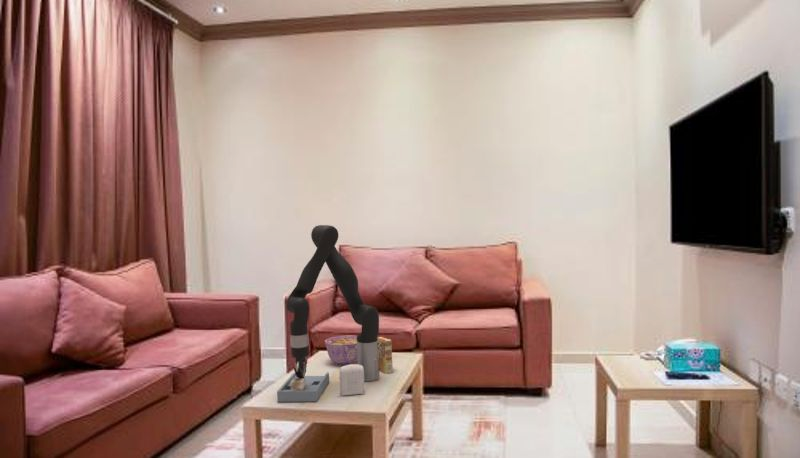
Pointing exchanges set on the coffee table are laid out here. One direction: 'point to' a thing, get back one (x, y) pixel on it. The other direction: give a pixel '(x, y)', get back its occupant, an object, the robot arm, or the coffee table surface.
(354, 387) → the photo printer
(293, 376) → the track
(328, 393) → the coffee table surface
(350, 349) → the bowl of food
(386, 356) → the candy box
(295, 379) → the cream cube
